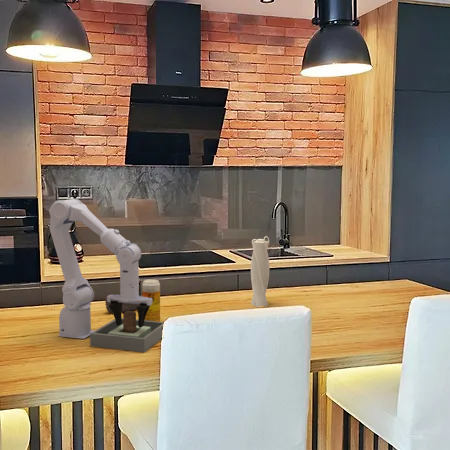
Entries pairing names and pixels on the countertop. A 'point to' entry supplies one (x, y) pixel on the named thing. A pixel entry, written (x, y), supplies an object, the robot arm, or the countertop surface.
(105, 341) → the graphite box
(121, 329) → the plate
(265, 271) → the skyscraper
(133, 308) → the perforated stone tool
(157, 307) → the beer can
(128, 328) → the walnut peg
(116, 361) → the countertop surface
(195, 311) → the countertop surface
